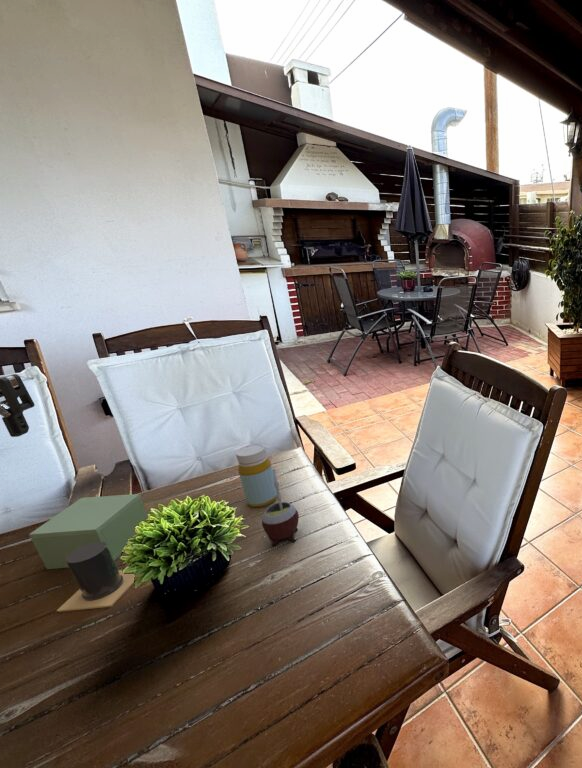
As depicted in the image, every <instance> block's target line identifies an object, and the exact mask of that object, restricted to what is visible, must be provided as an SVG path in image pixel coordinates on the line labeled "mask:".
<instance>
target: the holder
mask: <svg viewBox="0 0 582 768" xmlns="http://www.w3.org/2000/svg"><path fill="white" fill-rule="evenodd" d="M66 562H67V564H68V566H69V567H68V568H69V570H70V572H71V574H72V576H73V578H74V580H75V581H76V584H77V586H78V588H79V589H80V590H81V592H82V598H83V599H84V600H86V601H93V600H98V599H101V598H103V597H106V596H108V595H109V594H111V593H113V592H114V591H116V590H117V589H118V588H119V587H120V586H121V585H122V584H123V582H124V578H123V576H122V575H120V573H119V571H118V570H119V568H118V566H117V564H116V562H115V561H114V559H113V557H112V555H111V553H110V551H109V548H108V546H107V544H106V543H105V542H93V543H90V544H87V545H84V546H82V547H80V548H78V549H76V550H74V551H73V552H71V553H70V554H69V555H68V556H67V558H66Z"/></svg>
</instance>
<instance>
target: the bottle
mask: <svg viewBox="0 0 582 768" xmlns="http://www.w3.org/2000/svg"><path fill="white" fill-rule="evenodd" d="M235 455H236V460H237V462H238V468H237V470H238V475H239V479H240V482H241V485H242V489H243V493H244V496H245V500H246V503H247V505H248V506H249V507H252V508H262V507H266V506H268V505H270V504H273V502H275V501H276V500H277V499H278V496H277V491H276V487H275V485H274V483H275V482H274V475H273V469H274V468H273V465H272V462H271V460H270V459H269V458H268V454H267V450H266V446H265V444H263V443H252V444H247V445H245V446H242V447H240V448H238V449H237V450H236V453H235Z"/></svg>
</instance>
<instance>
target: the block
mask: <svg viewBox="0 0 582 768" xmlns="http://www.w3.org/2000/svg"><path fill="white" fill-rule="evenodd" d="M148 517H149V514H148V512H147V510H146V506H145V503H144V501H143V499H142V496H141V494H140V493H130V494H118V495H117V494H115V495H103V496H89V497H88V496H87V497H86V496H85V497H80V498H79V499H78V500H76V501H75V502H73V503H72V504H71V505H69V506H67V508H64V509H63V510H62V511H60V512H59V513H57V514H56V515H54V516H53V517H52V518H50V519H49V520H47V521H46V522H44V523H42V525H41V526H39V527H38V528H36V529H34V530H33V531H32V532H30V533H28V536H29V538H30V540H31V542H32V543H33V546H34V547H35V549H36V551H37V553H38V555H39V557H40V559H41V561H42V563H43V565H44V567H45V569H46V570H56V569H65V568H67V569H68V568H69V566H68V564H67V562H66V558H67V556H68V555H69V554H70V553H71V552H73V551H74V550H76V549H78V548H80V547H82V546H84V545H87V544H90V543H93V542H105V543H106V544H107V546H108V548H109V551H110V553H111V555H112V557H113V559H114V562H115V561H116V560H118V558H119V557H120V556H121V555H122V554H123V553H122V550H123V548H124V547H125V545H126V543H127V541H128V539H130V538H131V537H133V536H134V534H135V527H136V526H137V525H138V524H139V523H140V522H141V521H143V520H146V519H148ZM121 553H122V554H121Z"/></svg>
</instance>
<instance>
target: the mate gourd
mask: <svg viewBox="0 0 582 768" xmlns="http://www.w3.org/2000/svg"><path fill="white" fill-rule="evenodd" d="M272 469H273V475H274V482H275V483H274V485H275V487H276V491H277V496H278V497H277V500H278V501H277V502H276V503H274V504H272V505H270V506H268V507H267V508H266V509H265V511H264V512H263V515H262V517H261V526H262V528H263V531H264V532H265V534H266V535H267V537H268V540H269V541H270V542H271V543H272V544H271V548H276V547H277V546H278V545H280V544H281V543H283V542H284V541H287V542H289V543H292V544H294V543H296V541H297V539H296V538H295V533H296V532H297V531H298V530H299V529H298V525H299V519H300V518H299V517H300V515H299V511H298V510H297V508H296V507H295V505H294V504H292V503H290V502H287V501H283V500H282V496H281V492H280V484H279V482H278V477H277V471H276V468H272Z"/></svg>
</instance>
